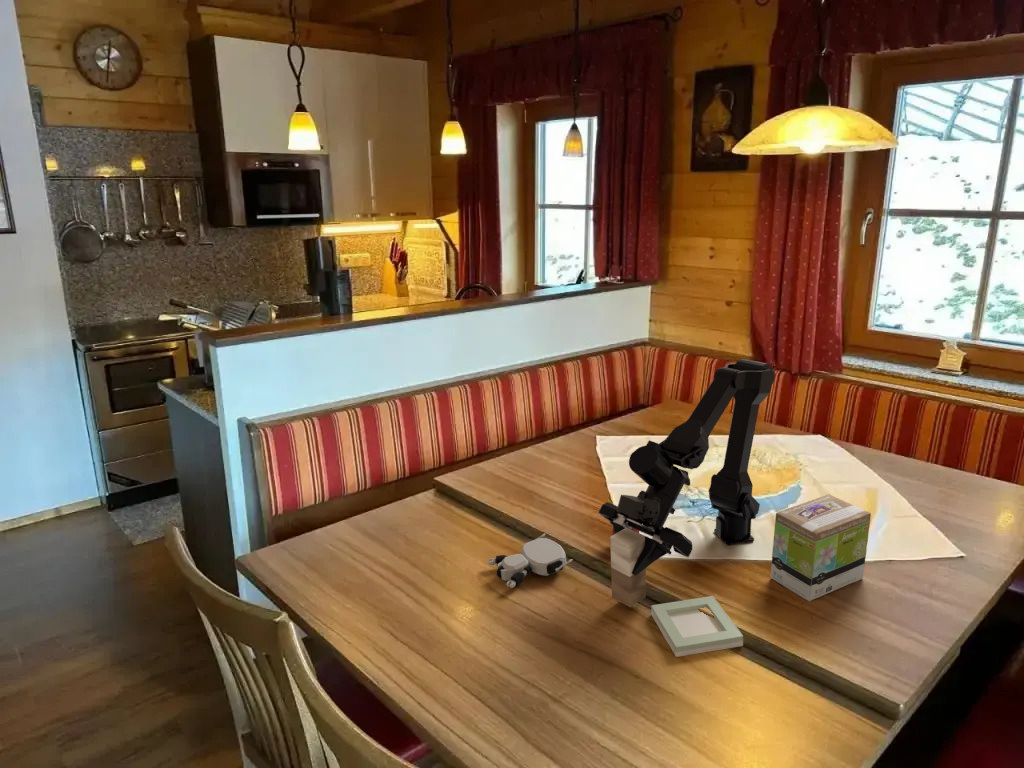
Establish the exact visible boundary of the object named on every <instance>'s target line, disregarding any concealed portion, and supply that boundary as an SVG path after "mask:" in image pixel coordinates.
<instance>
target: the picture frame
mask: <svg viewBox="0 0 1024 768" xmlns="http://www.w3.org/2000/svg"><path fill="white" fill-rule="evenodd" d="M704 607H707V608H708V609H709V610H710V611H711V613H712V614H713V615H714V618H715V619H714V618H712V617H710V616H708V615H706V614H704V613H703V612H700V611H699V610H698V609H700V608H704ZM650 608H651V609H650V614H651V616H652V618H653V620H654V622H655V623H656V625H657V627H658V628H659V630H660V632H661V634H662V636H663V638H664V639H665V640H666V642H667V644H668V646H669V647H670V649H671V650H672V653H673V654H674V657H675V658H678V657H679V658H680V657H683V656H690V655H696V654H704V653H708V652H709V653H710V652H714V651H720V650H726V649H732V648H738V647H739V648H740V647H743V646H744V635H743V634H742V632H741V631H740V629H739V628H738V627H737V625H736V624H735V623H734V621H733V620H732V618H730V617H729V615H728V614H727V612H726V611H725V610H724V609H723V608H722V606H721V605H720V603H719V602H718V601H717V599H716V598H715V597H714V596H713V595H709V596H703V597H697V598H696V597H695V598H691V599H690V598H689V599H684V600H677V601H671V602H666V603H665V602H664V603H658V604H651V606H650Z"/></svg>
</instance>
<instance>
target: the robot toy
mask: <svg viewBox="0 0 1024 768" xmlns="http://www.w3.org/2000/svg"><path fill="white" fill-rule="evenodd" d="M545 536H546V533H543V534H541V535H540V536H538V537H537V538H535V539H533V540H530V541H527V542H525V543H524V544H523V546H521V550H520V552H521V553H516V554H512V555H505V554H503V555H502V554H501V555H500V554H499V555H495V558H494V557H491V558H488V565H490V566H494V565H496V566H497V569H496V573H495V574H496V576H497V577H498V578H500V579H501V581H504V582H505V581H507V582H506V586H507V587H509V588H514V587H518V586H519V585H520V584H522V583H523V582H524V579H525V577H526V576H527V575H528V576H529V575H530V574H532V572H533V573H534V574H537V575H539V576H547V577H548V576H550V575H554V574H556V573H558V572H560V571H563V569H565V567H566V566H567V565H568V564H570V563H572V562H573V560H574V559H572V558H571V559H569V560H568V561H567V555H566V552H565V550H564V548H563V547H562V546H561V545H560V544H559V543H557V542H556V541H554V540H552V539H550V538H547V537H545Z"/></svg>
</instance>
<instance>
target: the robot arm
mask: <svg viewBox="0 0 1024 768" xmlns="http://www.w3.org/2000/svg"><path fill="white" fill-rule="evenodd" d="M775 380H776V371H775V369H773V367H772V365H771V364H770V363H767V362H761V361H757V360H756V361H755V360H751V359H746V358H741V359H738V360H737V361H736V362H735V363H727V364H725V366H723V367H719V368H717V369H716V370H715V373H714V375H713V380H712V382H710V385H709V386H708V387H707V389H706V391H705V393H704V394H703V395H702V397H701V398H700V400H699V402H698V403H697V405H696V406H695V408H694V409H693V411H692V412H691V414H690V416H689V417H688V419H687V420H686V421H685V422H683V423H682V424H679V425H677V426H675V427H674V428H673V429H672V430H671V432H670V433H669V434H668V435H667V437H666V438H665V439H664V440H662V441H661V442H659V443H658V442H655V441H652V440H648V441H647V443H646V445H642V446H639V447H638V448H637V449H635V450H634V451H633V452H631V454H630V456H629V459H628V465H629V469H630V470H631V471H632V472H633V473H634V474H635V475H636V476H637V477H639V479H641V480H642V481H643V482H644V483H646V484H647V485H648V486H647V488H646V491H645V490H641V491H640V492H639V493H638V494H637V496H635V495H629V494H620V497H619V500H618V504H617V505H615V504H613V503H611V502H608V501H607V502H604V503H603V504H601V506H600V508H599V509H598V511H597V514H598V515H600V516H601V517H602V518H604V519H605V520H606V521H608V522H609V525H611V526H612V529H613V528H614V532H615V534H616V533H618V532H620V531H621V530H623V529H625V528H628V529H631V530H632V528H634V529H636V530H638V531H639V533H640V532H641V533H643V534H645V535H644V536H645V546H644V548H643V550H642V552H641V554H640V556H639V558H638V560H637V562H636V564H635V566H634V568H633V571H632V574H633V575H635V576H636V575H637V574H639V573H640V572H641V571H643V570H644V569H645V568H647V567H649V566H650V565H651V564H653V563H654V562H656V561H657V560H658V559H660V558H662V557H663V556H666V554H668V555H672V551H671V550H672V548H673V551H674V553H677V554H679V555H682V556H684V557H686V558H689V557H690V556H691V553H692V551H693V542H692V541H691V540H690V539H688V537H686V536H685V535H684V534H683V533H682V532H680V531H677V530H674V529H672V528H670V527H667V526H665V527H664V525H665V523H666V521H667V519H668V518H669V515H674V514H675V512H676V509H675V508H674V505H675V503H676V501H677V499H678V497H679V495H680V493H681V491H682V489H683V487H684V485H685V486H688V487H689V486H691V479H690V476H689V471H687V470H684V469H689V470H694V469H698V468H699V467H700V466H701V465H702V463H703V462H704V461H705V457H706V455H707V453H708V451H709V448H710V442H709V440H710V439H709V437H710V435H711V434H712V431H713V430H714V428H715V427H716V425H717V423H718V422H719V421H720V419H721V417H722V415H723V413H725V410H726V409H727V407H728V405H729V404H730V402H731V401H732V399H734V406H733V411H732V415H731V416H732V417H731V422H730V428H729V433H728V438H727V444H726V450H725V455H724V462H723V466H722V468H721V469H720V470H719V471H718V472H717V473H715V474H712V476H711V477H710V485H709V489H708V496H709V497H708V500H710V504H711V509H713V510H717V511H718V512H717V513H718V514H717V516H716V517H715V528H714V530H713V531H714V533H715V534H716V535H717V536H718V537H719V538H720V540H721V541H722V542H723V544H725V545H727V546H730V545H737V544H743V543H751V542H754V541H755V537H753V536H752V535H751V532H752V531H751V530H752V520H755V519H756V518H757V515H758V513H759V511H760V508H761V507H760V505H761V504H760V503H759V502H758V500H756V499H755V498H754V496H753V487H754V486H753V482H752V480H751V477H750V475H749V473H748V469H749V465H750V464H749V462H750V458H751V452H752V449H753V448H752V447H753V442H754V437H755V432H756V426H757V419H758V415H759V408H760V405H761V403H762V402H764V400H765V399H766V398H767V397H769V395H770V394H771V390H772V387H773V385H774V382H775ZM679 467H680V468H679ZM681 468H683V469H681ZM646 535H648V536H646ZM649 536H650V537H649Z"/></svg>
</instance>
